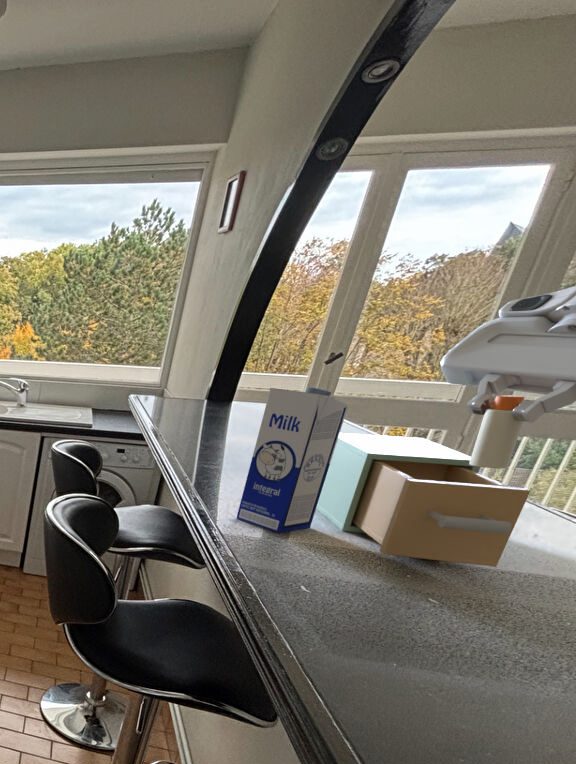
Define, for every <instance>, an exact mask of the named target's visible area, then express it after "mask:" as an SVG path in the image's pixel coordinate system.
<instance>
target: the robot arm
mask: <svg viewBox="0 0 576 764" xmlns="http://www.w3.org/2000/svg"><path fill="white" fill-rule="evenodd" d="M498 317H499V318H495V319H492V320H489V321H487V322H484V323H483V324H481V325H480V326H478V327H476V328H475V329H474V330H473V331H471V332H470V333H469V334H467V335H466V336H465V337H464V338H463V339H461V340H459V342H458V343H457V344H456V345H454V346H453V347H452V348H451V349H450V350H448V352H446V353H445V355H443V357H442V358H441V360H440V369H441V371H442V374H443V376H444V378H445V380H446V382H447V383H449V384H451V385H460V386H467V387H468V386H469V387H478V389H477V394H476V395H475V396H474V397H473V398H471V399H470V400H469V401H468V402H467V403H466V410H467V412H468V413H469V414H472V415H478V416H484V414H485V411H486V409H488V408H493V406H494V402H495V398H494V395H496V396H498V395H500V394H502V393H503V392H504V391H511V392H521V393H529V394H539V395H543V396H540V397H538V398H536V399H524V401H523V402H521V403H520V406H517V407H515V408H514V409H513V411H512V415H513V416H515V417H514V419H515V420H517V421H523V423H531V424H532V423H534V422H536V421H537V420H538V419H540V417H542V416H543V415H544V414H546V413H550V412H552V411H556V410H559V409H561V408H564V407H567V406H570V405H573V404H574V403H576V285H574V286H569V287H567V288H564V289H560V290H557V291H552V292H549V293H544V294H540V295H533V296H529V297H523V298H517V299H513V300H510V301H509V302H507V303H506V304H504V305H503V306H502V307H501V308H500V309H499V310H498Z"/></svg>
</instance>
